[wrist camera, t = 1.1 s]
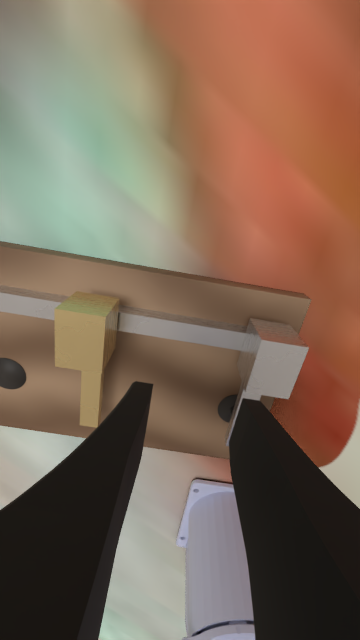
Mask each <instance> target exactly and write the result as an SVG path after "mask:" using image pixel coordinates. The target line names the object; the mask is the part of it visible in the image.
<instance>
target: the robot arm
mask: <svg viewBox="0 0 360 640" xmlns="http://www.w3.org/2000/svg"><path fill="white" fill-rule="evenodd" d="M152 390H153V384H151V383H144V382H138V381H135V382H133V383H132V384H131V386H130V388H129V389H128V391H127V392H126V394H125V395H124V396H123V398H122V399H121V400H120V402H119V403H118V404H117V405H116V407H115V408H114V409H113V410H112V411H111V412H110V414H109V415H108V416H107V417H106V418H105V419H104V421H103V422H102V423H101V424H100V425H99V426H98V427H97V428H96V429H95V430H94V431H93V432H92V433H91V434H90V435H89V436H88V437H87V438H86V439H85V440H84V441H83V442H82V443H81V444H80V445H79V446H78V447H77V448H76V449H75V450H74V451H73V452H72V453H71V454H70V455H69V456H68V457H66V458H65V459H64V460H63V461H62V462H61V463H60V464H58V465H57V466H56V467H55V468H54V469H53V470H52V471H50V472H49V473H48V474H47V475H45V476H44V477H43V478H42V479H40V480H39V481H38V482H37V483H35V484H34V485H33V486H32V487H31V488H29V489H28V490H27V491H25V492H24V493H23V494H22V495H20V496H19V497H18V498H16V499H15V500H14V501H12V502H11V503H10V504H8V505H7V506H5V507H4V508H3V509H1V510H0V640H98V638H99V633H100V628H101V623H102V618H103V613H104V608H105V603H106V598H107V593H108V588H109V583H110V578H111V573H112V568H113V563H114V558H115V553H116V548H117V544H118V540H119V536H120V532H121V528H122V525H123V521H124V518H125V514H126V511H127V507H128V503H129V500H130V496H131V493H132V489H133V486H134V482H135V478H136V475H137V471H138V468H139V464H140V460H141V456H142V450H143V445H144V439H145V434H146V428H147V422H148V415H149V409H150V403H151V396H152ZM229 455H230V468H231V476H232V482H233V484H227V483H220V482H213V481H206V480H199V479H196V480H193V481H192V483H191V486H190V490H189V494H188V498H187V501H186V505H185V509H184V513H183V516H182V520H181V524H180V528H179V531H178V535H177V539H176V545H177V546H179V547H184V548H186V587H185V624H186V632H187V637H184V638H183V639H182V640H360V509H359V508H358V507H357V506H356V505H355V504H354V503H353V502H352V501H351V500H350V499H348V498H347V497H346V496H345V495H344V494H343V493H342V492H341V491H340V490H339V489H338V488H337V487H336V486H335V485H334V484H333V483H332V482H331V481H330V480H329V479H328V478H327V476H326V475H325V474H324V473H323V472H322V471H321V470H320V469H319V468H318V467H317V466H316V465H315V464H314V463H313V462H312V461H311V459H310V458H309V457H308V456H307V455H306V454H305V453H304V452H303V451H302V449H301V448H300V447H299V446H298V445H297V444H296V442H295V441H294V440H293V439H292V438H291V437H290V435H289V434H288V433H287V432H286V431H285V430H284V428H283V427H282V426H281V425H280V424H279V422H278V421H277V420H276V419H275V417H274V416H273V415H272V414H271V413H270V411H269V410H268V409H267V408H266V407H265V406H264V404H263V403H262V402H261V401H259V400H253V399H246V398H243V399H242V402H241V405H240V408H239V411H238V415H237V418H236V421H235V424H234V427H233V430H232V433H231V437H230V440H229Z"/></svg>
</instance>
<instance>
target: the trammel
mask: <svg viewBox="0 0 360 640" xmlns="http://www.w3.org/2000/svg"><path fill="white" fill-rule="evenodd" d="M69 297H70V296H64V295H58V294H52V293H46V292H40V291H34V290H28V289H22V288H16V287H10V286H4V285H0V311H1V312H7V313H13V314H19V315H26V316H32V317H38V318H44V319H50V320H55V317H54V309H55V308H56V307H57V306H58V305H60V304H61V303H62V302H64V301H65V300H66V299H67V298H69ZM117 331H123V332H129V333H136V334H142V335H148V336H154V337H160V338H166V339H172V340H178V341H185V342H191V343H197V344H203V345H209V346H215V347H221V348H227V349H233V350H240V355H239V358H238V362H237V367H238V370H239V374H240V377H241V380H242V383H241V386H240V389H239V392H238V396H237V399H236V402H235V405H234V406H232V407H231V408H230V412H231V419H230V422H229V425H228V428H227V432H226V435H225V444H226V446H229V440H230V437H231V433H232V430H233V427H234V424H235V421H236V418H237V415H238V411H239V408H240V405H241V402H242V399H243V398H246V399H253V400H259V401H260V398H261V395H265V396H271V397H277V398H284V399H289V397H290V394H291V392H292V389H293V387H294V384H295V382H296V379H297V377H298V374H299V372H300V369H301V367H302V364H303V362H304V359H305V357H306V354H307V352H308V349H309V347H308V346H307V345H306V343H305V342H304V341H303V340H302V339H301V337H300V336H299V335H298V334H297V333H296V331H295V330H294V329H293V328H292V327H291V325H288V324H282V323H276V322H270V321H264V320H258V319H252V318H250V320H249V324H248V326H244V325H238V324H232V323H226V322H220V321H214V320H208V319H202V318H196V317H190V316H184V315H178V314H172V313H166V312H160V311H154V310H148V309H142V308H136V307H130V306H124V305H119V309H118V321H117Z"/></svg>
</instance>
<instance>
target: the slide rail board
mask: <svg viewBox="0 0 360 640" xmlns="http://www.w3.org/2000/svg"><path fill="white" fill-rule="evenodd" d="M0 285H4V286H10V287H16V288H22V289H28V290H34V291H40V292H46V293H52V294H58V295H64V296H71V295H72V294H74V293H75V292H76V291H79V292H85V293H91V294H97V295H103V296H109V297H115V298H119V305H124V306H130V307H136V308H142V309H148V310H154V311H160V312H166V313H172V314H178V315H184V316H190V317H196V318H202V319H208V320H214V321H220V322H226V323H232V324H238V325H244V326H248V324H249V320H250V318H252V319H258V320H264V321H270V322H276V323H282V324H288V325H291V327H292V328H293V329H294V330H295V331H296V333H297V334H299V332H300V329H301V326H302V324H303V321H304V318H305V316H306V313H307V310H308V308H309V305H310V302H311V299H310V298H309V297H307V296H306V295H305V294H302V293H296V292H291V291H285V290H279V289H273V288H267V287H262V286H256V285H250V284H244V283H239V282H233V281H227V280H221V279H215V278H210V277H204V276H198V275H192V274H187V273H181V272H175V271H169V270H163V269H158V268H152V267H146V266H140V265H134V264H129V263H123V262H117V261H111V260H106V259H100V258H94V257H88V256H82V255H77V254H71V253H65V252H59V251H54V250H48V249H42V248H36V247H30V246H25V245H19V244H13V243H7V242H1V241H0ZM239 355H240V350H233V349H227V348H221V347H215V346H209V345H203V344H197V343H191V342H185V341H178V340H172V339H166V338H160V337H154V336H148V335H142V334H136V333H129V332H123V331H117V332H116V344H115V349H114V351H113V353H112V355H111V357H110V359H109V361H108V363H107V365H106V367H105V369H104V380H103V390H104V392H103V394H102V408H101V421H100V423H99V425H100V424H101V423H102V422H103V421H104V419H105V418H106V417H107V416H108V415H109V414H110V412H111V411H112V410H113V409H114V408H115V407H116V405H117V404H118V403H119V402H120V400H121V399H122V398H123V396H124V395H125V394H126V392H127V391H128V389H129V388H130V386H131V384H132V383H133V382H135V381H138V382H144V383H151V384H153V390H152V396H151V403H150V409H149V415H148V422H147V428H146V434H145V439H144V445H143V447H150V448H156V449H163V450H170V451H177V452H183V453H190V454H197V455H204V456H210V457H217V458H224V459H230V455H229V446H226V444H225V435H226V432H227V428H228V425H229V422H230V419H231V412H230V408H231V407H232V406H234V405H235V402H236V399H237V396H238V392H239V389H240V386H241V383H242V380H241V377H240V374H239V370H238V367H237V362H238V358H239ZM81 372H82V371H80V370H74V369H68V368H61V367H55V320H50V319H44V318H38V317H32V316H26V315H19V314H13V313H7V312H1V311H0V425H1V426H8V427H15V428H22V429H28V430H35V431H42V432H49V433H55V434H62V435H69V436H76V437H82V438H87V437H88V436H89V435H90V434H91V433H92V432H93V431H94V430H95V429H96V428H95V427H88V426H82V425H80V401H81ZM274 399H275V397H271V396H265V395H261V398H260V401H261V402H262V403H263V404H264V406H265V407H266V408H267V409H268V410H269V411H270V409H271V407H272V404H273V401H274Z"/></svg>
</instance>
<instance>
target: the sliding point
mask: <svg viewBox="0 0 360 640" xmlns="http://www.w3.org/2000/svg"><path fill="white" fill-rule="evenodd" d="M118 309H119V298H115V297H109V296H103V295H97V294H91V293H85V292H79V291H76V292H75V293H74V294H72V295H71V296H70V297H69V298H67V299H66V300H65V301H64V302H62V303H61V304H60V305H58V306H57V307H56V308H55V309H54V317H55V367H61V368H68V369H74V370H80V371H82V372H81V401H80V425H82V426H88V427H95V428H97V427H98V426H99V423H100V421H101V408H102V394H103V392H104V390H103V380H104V369H105V367H106V365H107V363H108V361H109V359H110V357H111V355H112V353H113V351H114V349H115V344H116V332H117V321H118Z"/></svg>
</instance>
